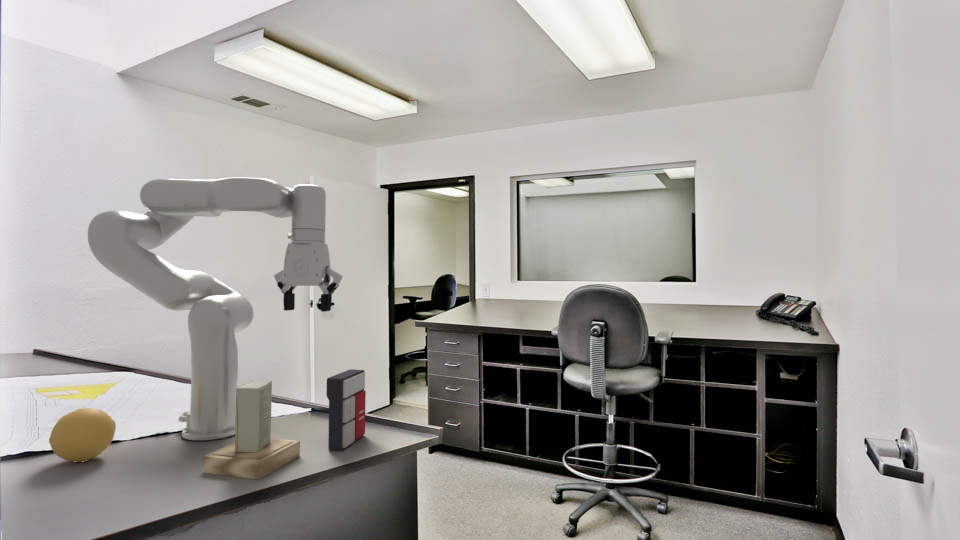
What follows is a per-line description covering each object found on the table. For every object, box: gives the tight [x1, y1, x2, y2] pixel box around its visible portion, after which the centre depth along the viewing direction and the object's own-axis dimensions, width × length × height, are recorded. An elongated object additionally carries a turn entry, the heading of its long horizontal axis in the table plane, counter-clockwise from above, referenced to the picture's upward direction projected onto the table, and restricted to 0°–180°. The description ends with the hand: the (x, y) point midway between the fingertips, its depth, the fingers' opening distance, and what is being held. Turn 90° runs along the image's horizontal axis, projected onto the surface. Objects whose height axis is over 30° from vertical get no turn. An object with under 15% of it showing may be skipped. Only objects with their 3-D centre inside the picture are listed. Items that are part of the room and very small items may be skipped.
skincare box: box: [234, 380, 273, 452], centre depth 94 cm, size 6×4×12 cm
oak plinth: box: [202, 437, 301, 481], centre depth 94 cm, size 12×12×3 cm
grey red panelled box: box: [326, 368, 366, 452], centre depth 107 cm, size 11×4×15 cm, turn 168°
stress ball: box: [48, 407, 116, 463], centre depth 95 cm, size 10×10×10 cm
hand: (307, 310), depth 114 cm, fingers open, 9 cm apart
